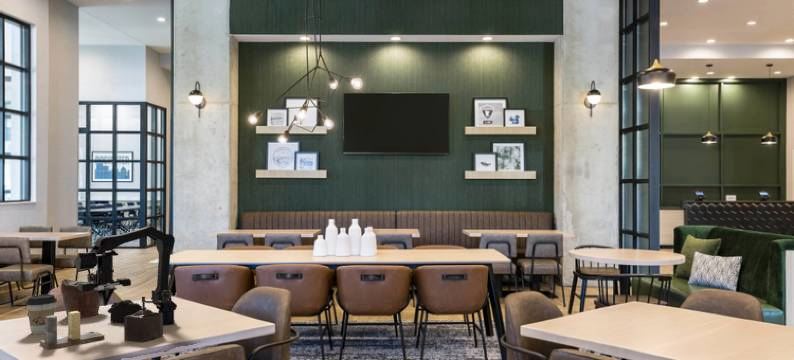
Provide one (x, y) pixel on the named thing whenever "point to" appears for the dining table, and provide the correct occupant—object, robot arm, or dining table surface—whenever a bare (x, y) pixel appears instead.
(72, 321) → the leg
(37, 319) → the coffee cup
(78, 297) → the brown wicker basket
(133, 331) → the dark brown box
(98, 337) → the gauge board
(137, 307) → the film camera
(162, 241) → the robot arm
